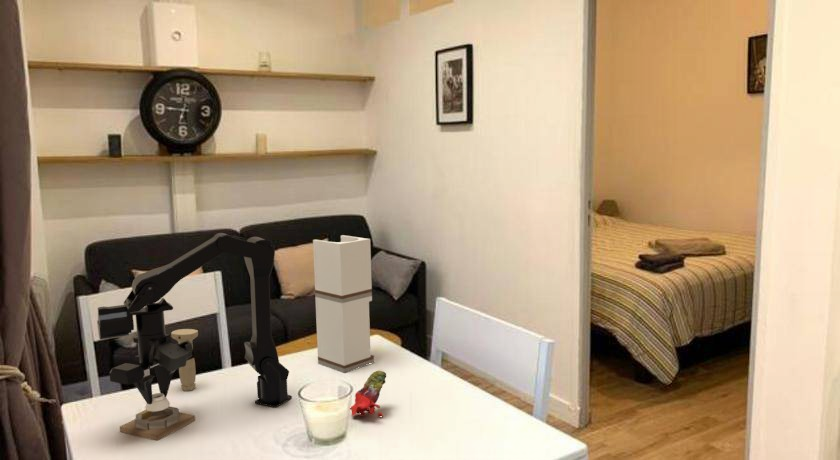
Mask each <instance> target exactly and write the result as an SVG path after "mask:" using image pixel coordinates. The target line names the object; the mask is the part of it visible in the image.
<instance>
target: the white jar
mask: <svg viewBox="0 0 840 460" xmlns="http://www.w3.org/2000/svg"><path fill="white" fill-rule="evenodd" d="M169 406H170V407H171V404H170V401H169V399H168V398H167V396H166V397H165V396H164V394H163V393H160V392H156V393H152V404H147V403H146V404H145V405H144V410H147V411H151V412H157V411H162V410H164V409H166V408H168V407H169Z"/></svg>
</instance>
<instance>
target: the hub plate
mask: <svg viewBox="0 0 840 460" xmlns="http://www.w3.org/2000/svg"><path fill="white" fill-rule="evenodd" d="M179 410H180V409H179V408H178V407H175V406H171V405H170V406H169V407H168V408H166V409H164V410H162V411H157V412H151V411H147V410H146V409H144V410H142V411H140V412H138V413H136V414H135V418H134V419H133V420H130V421H128V422H126V423H124V424H122V425H120V426H119V433H120V432H121V433H123V434H124V433H125V434H128V435H132V436H136V437H141V438H144V439H148V440H149V439H150V440H153V441H159V440H161V439H163V438H166V437H167V436H168V435H171V434H172V433H174V432H176V431H178V430H180V429H182V428H184V427H185V426H187V425H189V424H191V423H193V422H194V421H196V416H195V415H194V414H190V413H186V412H180V411H179Z"/></svg>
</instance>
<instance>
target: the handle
mask: <svg viewBox="0 0 840 460" xmlns="http://www.w3.org/2000/svg"><path fill="white" fill-rule="evenodd" d="M198 336H199V331H198V330H197V329H192V328H182V329H175V330H172V332H171V334H170V337H171V339H173V340H175V341H177V343H179V344H180V343H182V342H184V341H189V342H191V343H192V349H193V350H194V345H193V340H194V339H196V338H197V337H198ZM195 361H196V360H195V357H194V358H192V359H190V360H188V361H187V362H186V366H184V367H180V368H178V375H179V381H180V384H181V385H180V386H181V388H180V389H181V390H183V391H184V392H187V391H192V390H194V389H196V383H195V382H196V378H197V377H196V375H197V374H196V373H197V372H196V371H197V370H196V362H195Z"/></svg>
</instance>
